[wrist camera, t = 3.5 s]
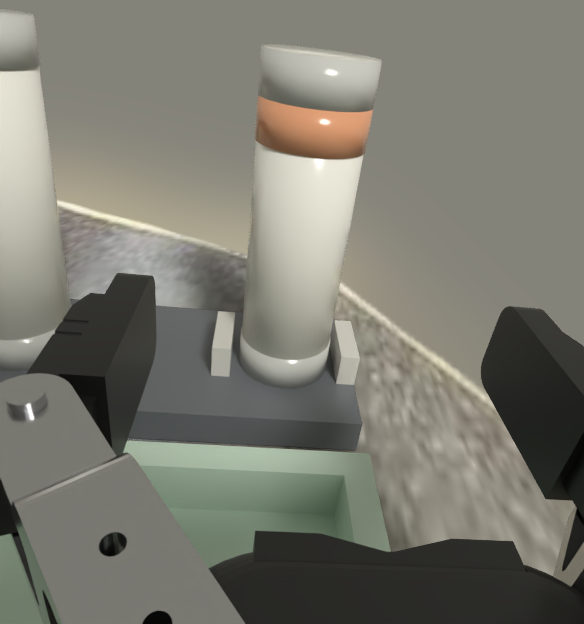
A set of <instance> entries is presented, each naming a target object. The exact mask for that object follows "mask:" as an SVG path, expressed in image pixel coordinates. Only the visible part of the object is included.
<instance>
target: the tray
mask: <svg viewBox="0 0 584 624" xmlns="http://www.w3.org/2000/svg"><path fill="white" fill-rule="evenodd" d="M126 452H127V453H129V454H131V455H132V456H133V457H134V458H135V460H136V461H137V462H138V464H139V465H140V467H141V468H142V470H143V471H144V473H145V474H146V476H147V477H148V479H149V480H150V482H151V483H152V485H153V486H154V488H155V489H156V491H157V492H158V494H159V495H160V497H161V498H162V500H163V501H164V503H165V504H166V506H167V507H168V509H169V510H170V512H171V513H172V515H173V516H174V518H175V519H176V521H177V522H178V524H179V525H180V527H181V528H182V530H183V531H184V533H185V534H186V536H187V537H188V539H189V540H190V542H191V543H192V545H193V546H194V548H195V549H196V551H197V552H198V554H199V555H200V557H201V558H202V560H203V561H204V563H205V564H206V566H207V567H208V568H210V567H212V566H214V565H216V564H218V563H220V562H222V561H225V560H228V559H230V558H233V557H236V556H239V555H242V554H246V553H251V552H253V545H254V536H255V531H276V532H300V533H321V534H325V535H328V536H332V537H335V538H339V539H343V540H346V541H350V542H353V543H357V544H361V545H364V546H368V547H371V548H375V549H379V550H382V551H387V552H391V550H390V545H389V541H388V536H387V532H386V527H385V523H384V518H383V513H382V509H381V504H380V500H379V495H378V491H377V486H376V481H375V477H374V472H373V468H372V463H371V458H370V454H369V453H351V452H332V451H314V450H295V449H276V448H258V447H239V446H221V445H202V444H184V443H165V442H146V441H128V440H127V442H126V445H125V448H124V451H123V453H126ZM0 624H43V622H42V619H41V617H40V614H39V611H38V609H37V606H36V603H35V600H34V598H33V595H32V592H31V590H30V587H29V584H28V582H27V579H26V576H25V574H24V571H23V568H22V565H21V563H20V560H19V557H18V555H17V552H16V549H15V547H14V544H13V541H12V539H11V536H10V534H7V535H3V536H0Z"/></svg>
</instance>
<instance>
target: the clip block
mask: <svg viewBox="0 0 584 624" xmlns="http://www.w3.org/2000/svg"><path fill="white" fill-rule="evenodd" d="M78 301H79V300H75V299H70V303H71V305H73V304H74V303H76V302H78ZM242 325H243V312H231V311H218V310H205V309H192V308H179V307H166V306H156V333H157V339H156V351H155V357H154V361H153V365H152V368H151V371H150V374H149V377H148V380H147V383H146V386H145V389H144V392H143V395H142V398H141V401H140V404H139V406H138V409H137V412H136V415H135V418H134V421H133V424H132V427H131V430H130V433H129V436H128V438H139V439H158V440H176V441H195V442H213V443H231V444H250V445H268V446H287V447H305V448H323V449H342V450H356V447H357V443H358V439H359V435H360V431H361V427H362V421H361V416H360V412H359V407H358V403H357V398H356V393H355V389H354V381H355V377H356V373H357V368H358V364H359V359H360V357H359V353H358V349H357V345H356V341H355V337H354V333H353V329H352V325H351V321H340V320H334V319H333V323H332V329H331V334H330V346H329V351H328V357H327V362H326V368H325V371H324V373H323V375H322V376H321V377H320V378H319V379H318V380H317V381H316V382H314V383H312V384H310V385H307V386H304V387H299V388H277V387H271V386H268V385H265V384H262V383H260V382H258V381H256V380H254V379H252V378H251V377H250V376H248V375H247V374H246V373H245V372H244V370H243V369H242V367H241V365H240V362H239V351H240V337H241V328H242ZM28 370H29V369H27V370H16V371H9V370H0V383H1V382H3V381H5V380H7V379H10V378H13V377H17V376H21V375H26V373H27V372H28Z"/></svg>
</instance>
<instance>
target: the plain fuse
mask: <svg viewBox="0 0 584 624" xmlns="http://www.w3.org/2000/svg"><path fill="white" fill-rule="evenodd" d="M39 66H40V60H39V52H38V44H37V37H36V29H35V22H34V15H32V14H29V13H25V12H19V11H13V10H6V9H0V370H9V371H16V370H27V369H30V367H31V366H32V364H33V363H34V361H35V360H36V358H37V357H38V355H39V354H40V352H41V351H42V349H43V348H44V346H45V345H46V344H47V342H48V341H49V339H50V338H51V336H52V335H53V334H55V330H56V329H57V327H58V326H59V324H60V323H61V322H63V318H64V317H65V315H66V314H67V312H68V311H69V309H70V308H71V306H72V305H71V303H70V296H69V288H68V281H67V273H66V266H65V258H64V251H63V243H62V236H61V228H60V221H59V213H58V206H57V198H56V191H55V183H54V176H53V168H52V161H51V155H50V154H51V153H50V146H49V139H48V132H47V124H46V116H45V109H44V101H43V94H42V86H41V79H40V71H39Z"/></svg>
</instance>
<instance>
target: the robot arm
mask: <svg viewBox="0 0 584 624" xmlns="http://www.w3.org/2000/svg"><path fill="white" fill-rule="evenodd" d="M156 339H157V333H156V302H155V282H154V278H153V276H148V275H136V274H124V273H118V274H116V276H115V278H114V279H113V281H112V283H111V284H110V286H109V288H108V290H107V291H106V293H105V294H95V293H90V294H89V295H87V296H85V297H84V298H82V299H81V300H79V301H78V302H76V303H74V304H73V305H72V306H71V308H70V309H69V311H68V312H67V314H66V315H65V317H64V318H63V322H61V323H60V324H59V326H58V327H57V329H56V330H55V334H53V335H52V336H51V338H50V339H49V341H48V342H47V344H46V345H45V346H44V348H43V349H42V351H41V352H40V354H39V355H38V357H37V358H36V360H35V361H34V363H33V364H32V366H31V367H30V369H29V370H28V372H27V373H26V375H21V376H17V377H13V378H10V379H7V380H5V381H3V382H1V383H0V536H3V535H7V534H10V536H11V539H12V541H13V544H14V547H15V549H16V552H17V555H18V557H19V560H20V563H21V565H22V568H23V571H24V574H25V576H26V579H27V582H28V584H29V587H30V590H31V592H32V595H33V598H34V600H35V603H36V606H37V609H38V611H39V614H40V617H41V619H42V622H43V624H584V347H583V346H582V345H581V344H580V343H578V342H577V341H575V340H573V339H572V338H571V337H569V336H568V335H566V334H565V333H563V332H562V331H561V330H560V328H558V326H557V325H556V324H555V323H554V322H553V321H552V319H551V318H550V317H549V316H548V315H547V314H546V313H545V312H544V311H543V310H541V309H535V308H523V307H510V306H509V307H506V308H505V309H504V310H503V311H502V312H501V314H500V316H499V319H498V321H497V324H496V327H495V329H494V332H493V334H492V337H491V340H490V342H489V345H488V348H487V350H486V353H485V355H484V358H483V361H482V366H481V379H482V383H483V386H484V388H485V390H486V392H487V393H488V395H489V397H490V399H491V401H492V402H493V404H494V406H495V408H496V410H497V412H498V413H499V415H500V417H501V419H502V421H503V422H504V424H505V426H506V428H507V430H508V431H509V433H510V435H511V437H512V439H513V441H514V442H515V444H516V446H517V448H518V450H519V451H520V453H521V455H522V457H523V459H524V460H525V462H526V464H527V466H528V468H529V470H530V471H531V473H532V475H533V477H534V479H535V480H536V482H537V484H538V486H539V488H540V489H541V491H542V493H543V495H544V497H545V499H554V500H573V502H574V504H575V505H576V506H575V508H574V509H573V511H572V512H571V514H570V516H569V518H568V521H567V525H566V529H565V533H564V537H563V540H562V544H561V548H560V552H559V556H558V560H557V563H556V567H555V571H554V575H553V576H551V575H549V574H547V573H545V572H542V571H539V570H537V569H534V568H532V567H529V566H526V565H523V563H522V560H521V558H520V556H519V554H518V551H517V549H516V547H515V545H514V543H513V541H492V540H468V539H449V540H444V541H440V542H436V543H431V544H427V545H423V546H418V547H414V548H410V549H405V550H401V551H396V552H387V551H382V550H379V549H375V548H371V547H368V546H364V545H361V544H357V543H353V542H350V541H346V540H343V539H339V538H335V537H332V536H328V535H325V534H321V533H300V532H276V531H255V536H254V545H253V552H251V553H246V554H242V555H239V556H236V557H233V558H230V559H228V560H225V561H222V562H220V563H218V564H216V565H214V566H212V567H210V568H208V567H207V566H206V564H205V563H204V561H203V560H202V558H201V557H200V555H199V554H198V552H197V551H196V549H195V548H194V546H193V545H192V543H191V542H190V540H189V539H188V537H187V536H186V534H185V533H184V531H183V530H182V528H181V527H180V525H179V524H178V522H177V521H176V519H175V518H174V516H173V515H172V513H171V512H170V510H169V509H168V507H167V506H166V504H165V503H164V501H163V500H162V498H161V497H160V495H159V494H158V492H157V491H156V489H155V488H154V486H153V485H152V483H151V482H150V480H149V479H148V477H147V476H146V474H145V473H144V471H143V470H142V468H141V467H140V465H139V464H138V462H137V461H136V460H135V458H134V457H133V456H132V455H131V454H129V453H127V452H126V453H123V451H124V448H125V445H126V442H127V439H128V436H129V433H130V430H131V427H132V424H133V421H134V418H135V415H136V412H137V409H138V406H139V404H140V401H141V398H142V395H143V392H144V389H145V386H146V383H147V380H148V377H149V374H150V371H151V368H152V365H153V361H154V357H155V351H156Z"/></svg>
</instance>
